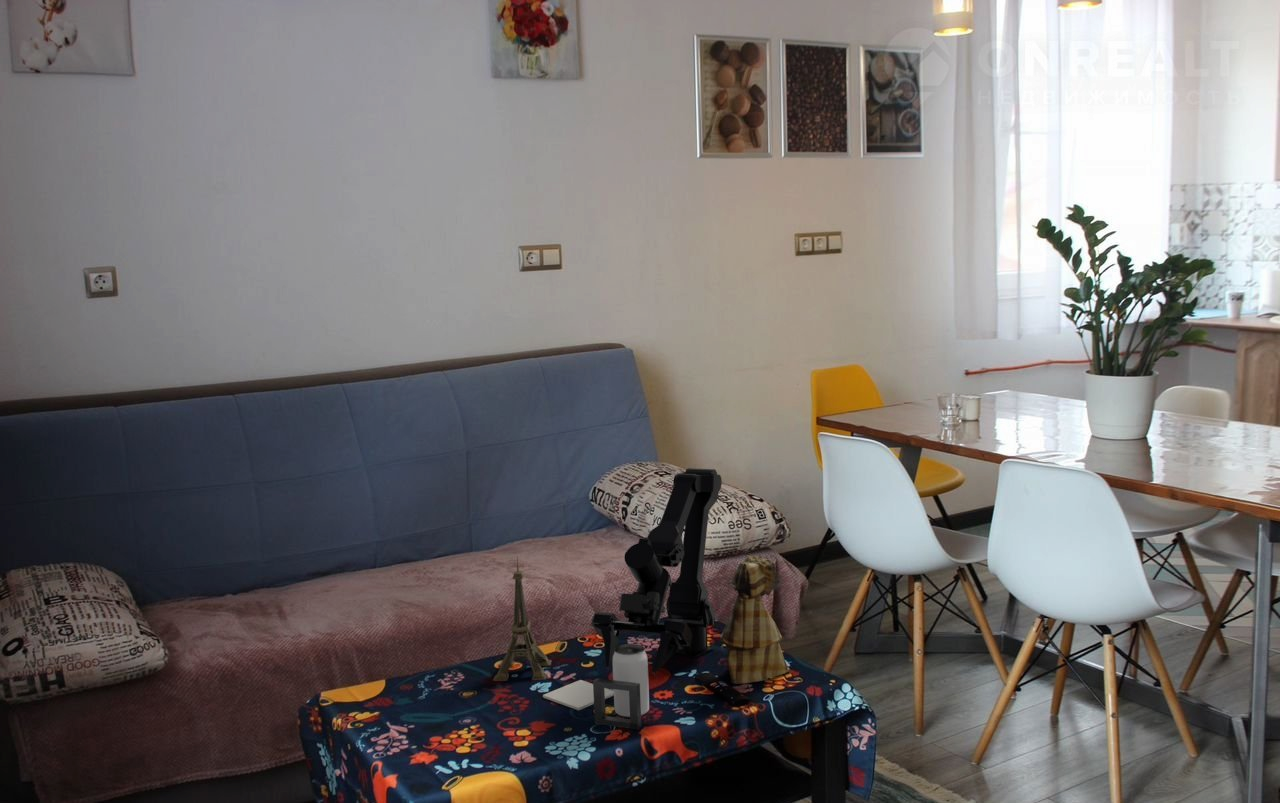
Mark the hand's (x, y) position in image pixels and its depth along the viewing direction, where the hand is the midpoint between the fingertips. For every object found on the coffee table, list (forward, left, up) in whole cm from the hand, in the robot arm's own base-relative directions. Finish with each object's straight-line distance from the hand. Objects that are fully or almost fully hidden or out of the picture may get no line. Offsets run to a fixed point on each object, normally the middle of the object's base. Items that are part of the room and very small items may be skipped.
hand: (630, 670), depth 211 cm
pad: (+1, -13, -8) cm, 15 cm away
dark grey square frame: (+6, +2, -8) cm, 10 cm away
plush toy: (-29, +5, -8) cm, 31 cm away
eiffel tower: (-1, -32, -8) cm, 33 cm away
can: (0, 0, -8) cm, 8 cm away
